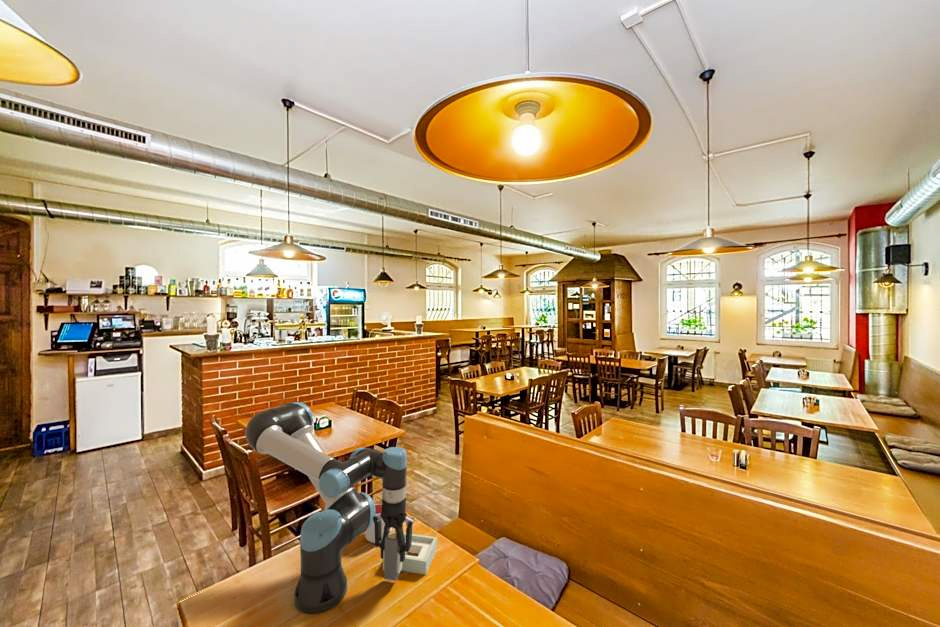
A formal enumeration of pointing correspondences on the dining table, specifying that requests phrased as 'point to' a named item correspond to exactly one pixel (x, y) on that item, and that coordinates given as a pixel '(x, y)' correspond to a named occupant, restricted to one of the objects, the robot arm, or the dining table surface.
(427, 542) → the walled box
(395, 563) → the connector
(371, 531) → the cup
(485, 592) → the dining table surface
